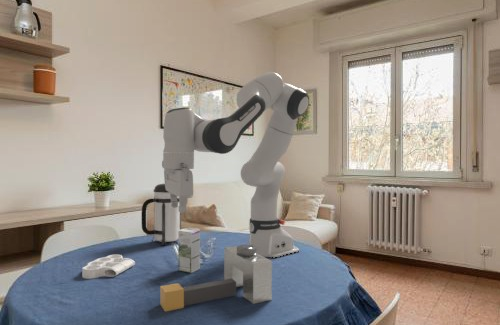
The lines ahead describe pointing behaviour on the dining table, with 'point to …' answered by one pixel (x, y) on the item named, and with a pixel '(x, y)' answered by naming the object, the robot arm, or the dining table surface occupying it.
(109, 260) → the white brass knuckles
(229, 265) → the grey bridge block
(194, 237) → the syrup box
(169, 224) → the coffee press
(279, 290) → the dining table surface
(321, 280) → the dining table surface
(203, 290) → the grey and tan bar
